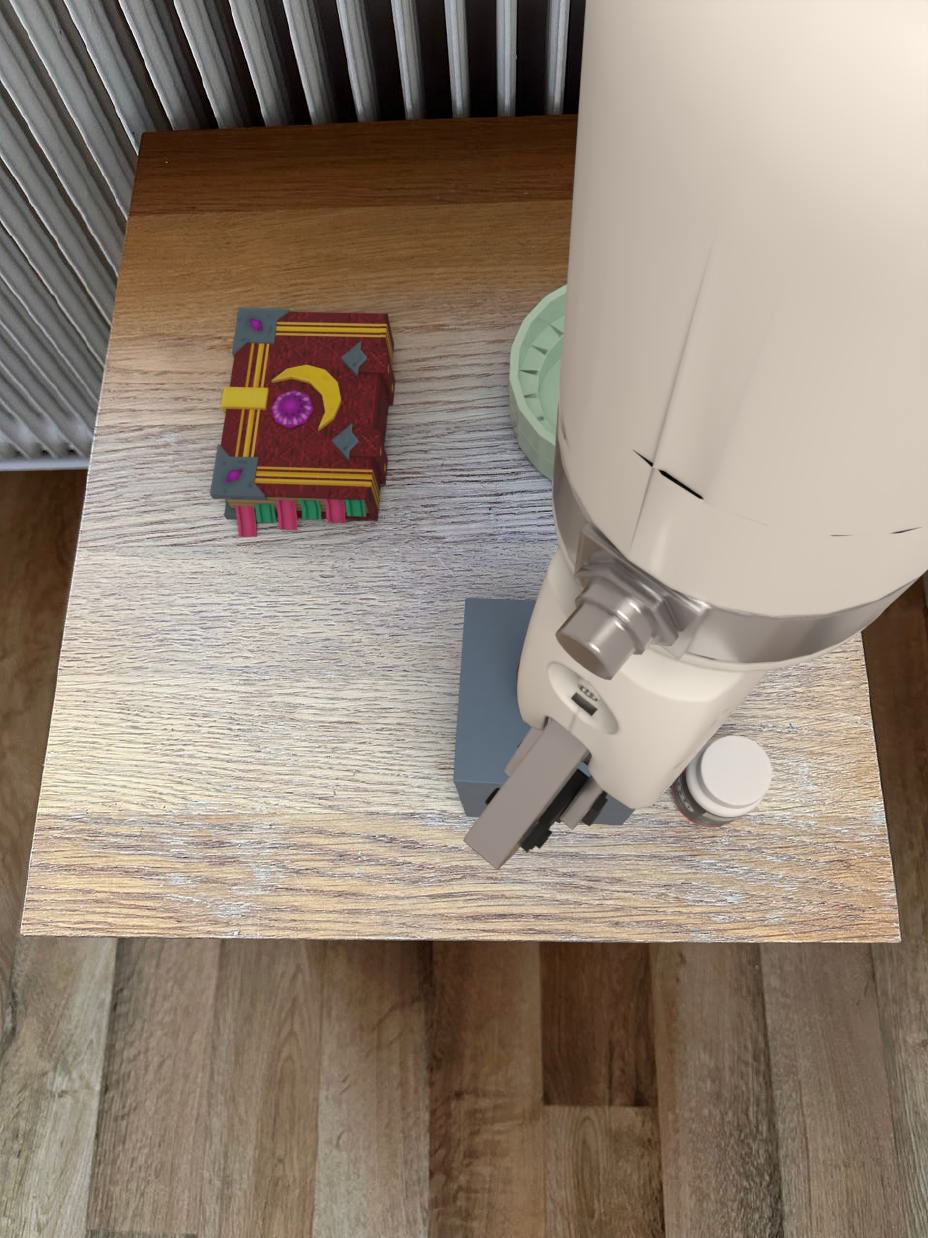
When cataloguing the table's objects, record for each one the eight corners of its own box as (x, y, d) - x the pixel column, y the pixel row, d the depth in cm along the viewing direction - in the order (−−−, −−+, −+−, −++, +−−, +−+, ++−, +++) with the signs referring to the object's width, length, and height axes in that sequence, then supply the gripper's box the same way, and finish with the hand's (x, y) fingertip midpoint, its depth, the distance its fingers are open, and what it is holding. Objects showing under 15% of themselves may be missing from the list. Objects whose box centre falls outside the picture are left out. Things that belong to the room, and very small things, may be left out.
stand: (624, 674, 66) (651, 604, 52) (622, 825, 62) (650, 792, 49) (475, 667, 66) (465, 597, 53) (466, 816, 63) (453, 781, 50)
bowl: (716, 325, 74) (733, 274, 68) (720, 509, 69) (738, 470, 63) (515, 321, 75) (515, 269, 69) (505, 501, 70) (504, 462, 64)
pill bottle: (669, 754, 64) (691, 726, 56) (743, 755, 63) (775, 728, 56) (672, 828, 62) (694, 810, 54) (747, 830, 62) (781, 812, 54)
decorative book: (398, 346, 75) (390, 305, 70) (380, 541, 70) (371, 511, 65) (252, 343, 75) (235, 302, 71) (224, 535, 70) (203, 506, 66)
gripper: (629, 954, 16) (575, 951, 33) (1145, 275, 20) (866, 576, 36) (307, 679, 18) (407, 805, 34) (833, 102, 22) (700, 462, 38)
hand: (642, 687), depth 35 cm, fingers open, 9 cm apart
